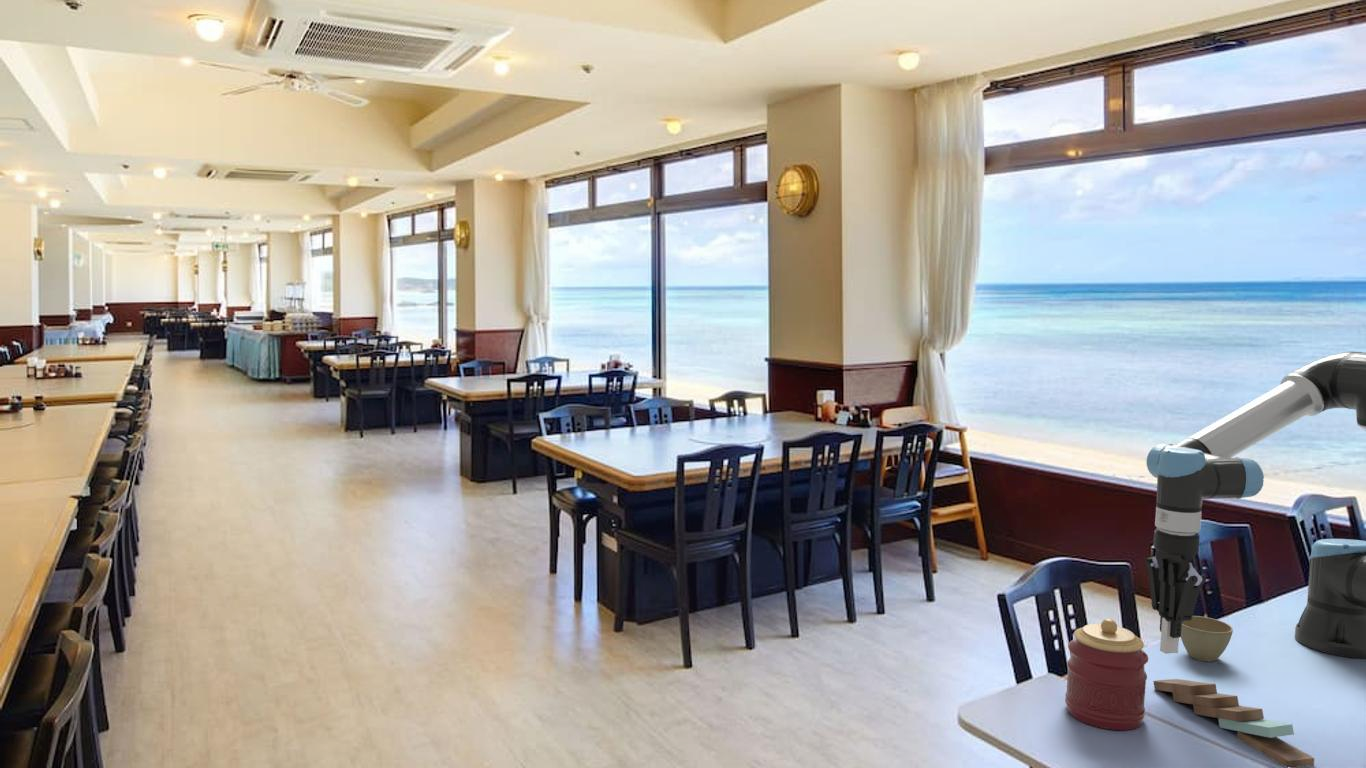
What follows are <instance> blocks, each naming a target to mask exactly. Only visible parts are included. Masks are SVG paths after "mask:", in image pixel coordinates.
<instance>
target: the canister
mask: <svg viewBox="0 0 1366 768" xmlns="http://www.w3.org/2000/svg"><path fill="white" fill-rule="evenodd" d="M1073 637H1074V639H1072V640H1071V641H1069V642H1068V644H1067V648H1068V651H1069V652H1070V658H1069V659H1068V660H1067V664H1066V665H1067V679H1066V681H1067V683H1066V692H1065V698H1064V699H1065V700H1064V701H1065V705H1066V706H1065V707H1066V710H1067V712H1068V713H1069V715H1071V716H1072V717H1073V718H1075V719H1076V720H1078V721H1079V722H1082V723H1085V724H1087V725H1089V726H1093V727H1096V728H1100V729H1106V730H1112V731H1113V730H1114V731H1129V730H1134V729H1136V728H1139V727H1141V725H1142V724H1143V721H1144V719H1145V715H1146V713H1145V712H1146V708H1145V699H1146V698H1145V697H1146V682H1147V679H1148V675H1147V673H1146V671H1145V665H1146V664H1147V663H1148V661H1149V656H1148V654H1147V653H1146V652H1145V651H1144V650H1143V648H1144V646H1145V644H1144V641H1143V640H1142V639H1141V638H1140V637H1138V636H1137V635H1135V634H1134V632H1132V631H1131V630H1129V629H1127V628H1126V627H1125V628H1124V627H1122V626H1118V625H1117V622H1116V621H1115V620H1114V619H1113V618H1112V619H1111V618H1105V619H1103V620H1102V621H1101V623H1089V624H1086V625H1084V626H1083V627H1080V628H1077V629H1076V630H1075V631H1074V632H1073Z"/></svg>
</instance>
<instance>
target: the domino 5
mask: <svg viewBox="0 0 1366 768" xmlns="http://www.w3.org/2000/svg"><path fill="white" fill-rule="evenodd" d="M1236 736H1237V738H1236V739H1237V740H1239V741H1241V742H1242V743H1244V744H1245V745H1247V746H1249V747H1251V748H1253V749H1254V750H1256V751H1258V752H1259V751H1260V752H1259V753H1261V752H1262V753H1261V754H1262V755H1264V754H1265V755H1264V756H1266V755H1267V756H1266V757H1267V758H1269V757H1270V758H1269V759H1271V760H1273V759H1274V760H1275V761H1274V760H1273V761H1274V762H1276V761H1277V762H1276V763H1278V762H1279V763H1278V764H1280V765H1281V764H1283V765H1284V766H1283V765H1282V766H1283V767H1285V766H1286V767H1296V768H1298V767H1297V766H1304V767H1310V766H1309V765H1312V766H1314V765H1315V757H1313V756H1312V755H1310V754H1308V753H1306V752H1305V751H1303V750H1302V749H1301V750H1300V749H1299V748H1298V747H1295V746H1294V745H1292V744H1290V743H1288V742H1286V741H1285V740H1283V739H1281V738H1280V737H1273V738H1269V737H1264V736H1259V735H1254V734H1249V733H1245V732H1240V731H1237V734H1236ZM1307 765H1308V766H1307ZM1286 767H1285V768H1286Z"/></svg>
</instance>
